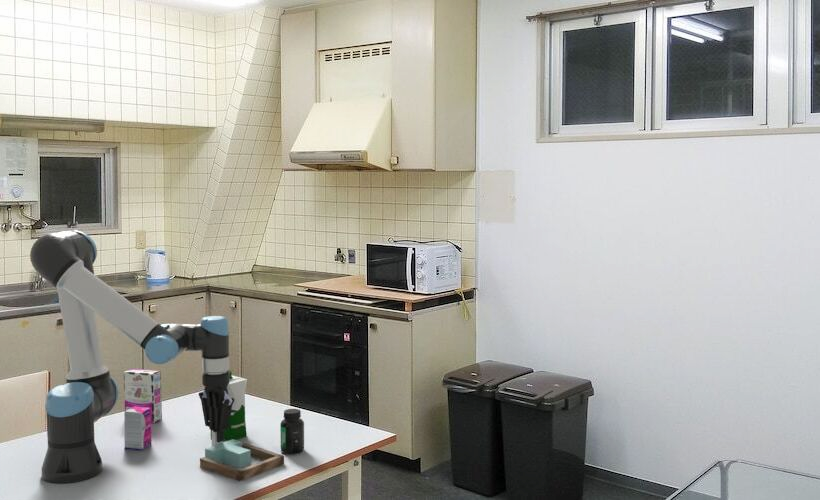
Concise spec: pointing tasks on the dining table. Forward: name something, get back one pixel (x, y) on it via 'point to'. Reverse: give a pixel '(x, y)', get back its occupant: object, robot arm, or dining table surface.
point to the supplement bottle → (292, 432)
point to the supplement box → (137, 428)
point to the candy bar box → (143, 391)
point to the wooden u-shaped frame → (231, 472)
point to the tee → (229, 453)
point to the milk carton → (236, 409)
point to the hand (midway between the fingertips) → (217, 451)
